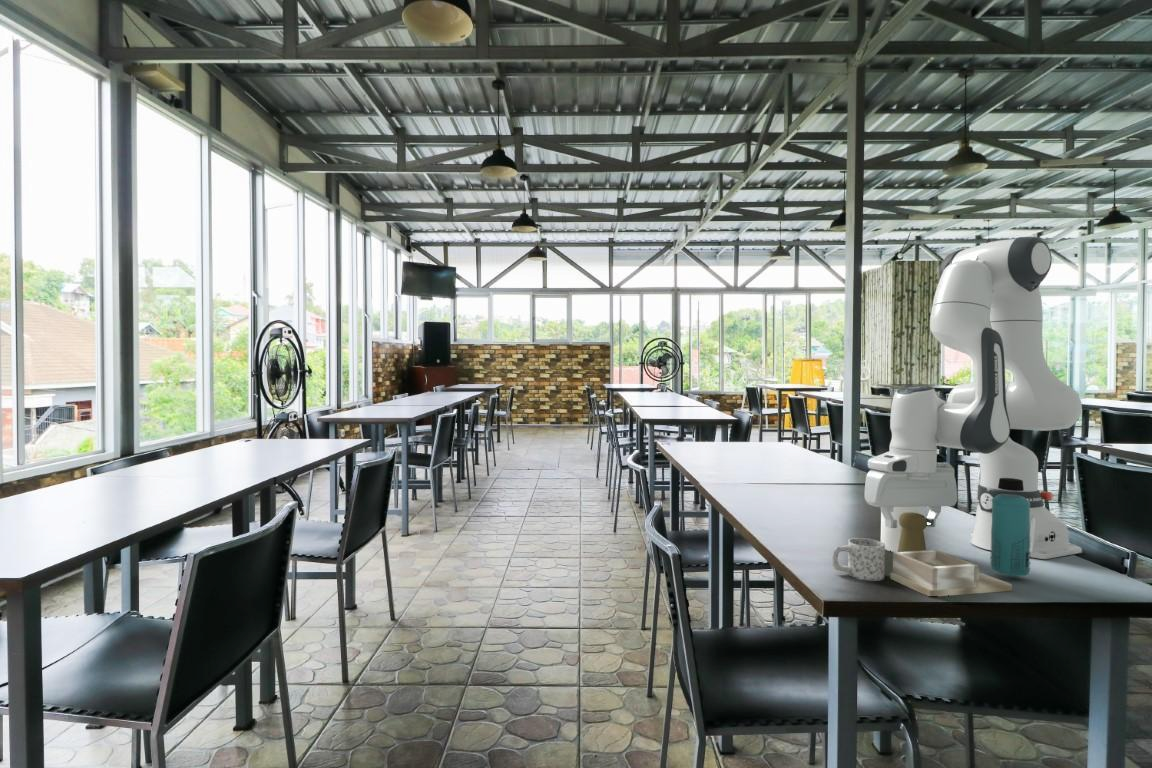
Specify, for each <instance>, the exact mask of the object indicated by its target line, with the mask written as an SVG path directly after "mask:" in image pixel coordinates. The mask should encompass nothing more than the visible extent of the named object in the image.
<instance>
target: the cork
mask: <svg viewBox="0 0 1152 768" xmlns="http://www.w3.org/2000/svg"><path fill="white" fill-rule="evenodd" d="M926 518H927V517H926V515H924V516H923V515H921V514H918V513H913V512H906V513H902V514H901V515H900V517H899V524H900V526H901V527H902V529H901V535H900V541H899V547H898V552H909V551H926V550H927V545H926V539H925V529H926V528H927V527H926V525H927V520H926Z"/></svg>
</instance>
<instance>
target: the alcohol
mask: <svg viewBox="0 0 1152 768" xmlns="http://www.w3.org/2000/svg"><path fill="white" fill-rule="evenodd" d="M925 507H926V506H925ZM925 507H893V512H891V514H892V516H893V519H895V520H897V528H888V527H886V526H885V517H884V516H883V514H882V512H881V511H880V542H882V543H884V544H885V551H888V552H890V551H891V553H893V552H898V547H899V541H900V535H901V529H902V527H901V526H900V524H899V517H900V515H901V514H902V513H906V512H913V513H918V514H921V515H923V516H926V515H925V513H926V512H925V511H926V510H925Z"/></svg>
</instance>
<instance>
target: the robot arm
mask: <svg viewBox="0 0 1152 768" xmlns="http://www.w3.org/2000/svg"><path fill="white" fill-rule="evenodd" d="M1052 259H1053V258H1052V253H1051V249H1050V246H1049V245H1048V243H1046V242H1045V241H1044V240H1043V239H1042V238H1041V237H1038V236H1037V237H1036V236H1035V237H1034V236H1020V237H1017V238H1011V239H1010V238H1009V239H999V240H995V241H990V242H989V241H988V242H987V243H983V244H980V245H976V246H975V245H974V246H971V247H969V248H966V249H964V248H962V249H958V250H956V251H952V252H951V253H948V254H947V256H946V257H944V258H943V260H942V262H941V263H940V266H939V271H938V273H939V274H938V275H939V280H938V284H937V286H936V290H935V293H934V296H933V300H932V306H931V312H930V319H929V328H930V332H931V334H932V336H933V337H934V338H935V340H936V341H938V342H939V343H940V344H942V345H943V346H945V347H947V348H950V349H951V350H954V351H958V352H961V353H963V354H966V355H967V356H969V357H970V358H971V361H972V362H973V365H974V381H971V382H967V383H960V384H957V385H955V386H954V387H953V388H952V389H951V391H950V392H949V394H948V396H947V398H946V400H943V399H941V398H940V397H938V396H937V394H936V390H935V388H934V387H932V386H929V385H912V386H904V387H901V388H899V389H897V390H896V391H895V392H894V394H893V397H892V403H891V408H890V419H889V423H890V424H889V425H890V426H889V428H890V432H891V440H890V441H889V442H890V443H889V450H888V451H886V452H884V453H881V454H879V455H876V456H873V457H870V458H869V459H868V460H867V467H868V469H870V470H869V471H868V472H867V473H866V476H865V484H864V500H865V501H866V504H867V505H870V506H872V507H875V508H880V513H881V512H882V514H883V516H884V517H885V526H886V527H888V528H897V520H895V519H893V516H892V514H891V512H893V507H927V509H928V510H929V511H928V514H927V516H926V517H925V518H926V520H927V525H926V528H935V527H936V525H937V524H936V521H937V519H938V517H939V515H940V514H941V512H942V507H954V506H955V505H956V504H957V502H958V488H957V481H956V477H955V468H954V467H953V466H952V465H951V464H950V463H949V462H946V461H944V462H937V457H938V447H944V448H950V449H958V450H966V451H969V452H970V451H971V452H974V453H978V455H979V473H980V474H979V475H980V477H979V480H980V481H979V484H978V485H977V490H976V491H977V492H976V493H977V496H976V497H977V500H978V505H977V507H976V512H975V518H974V519H975V520H974V525H973V532H971V533H970V538H971V539H970V543H971V544H972V545H974V546H975V547H978V548H981V549H984V550H987V551H988V550H989V551H991V549H990V545H991V542H990V541H991V539H990V538H991V528H992V499H993V498H994V497H995V496H997V495H998V494H1012V495H1019V496H1023V497H1024V498H1026V499H1027V500H1028V501H1029V502H1030V526H1031V528H1030V537H1031V538H1030V541H1031V543H1030V545H1031V547H1030V548H1031V549H1030V551H1031V552H1030V554H1029V558H1035V559H1038V560H1039V559H1040V560H1049V559H1054V558H1059V557H1064V556H1069V555H1076V554H1082V553H1083V549H1082V547H1080V546H1079V545H1076V544H1073V543H1070V539H1069V530H1068V526H1067V525H1066V524H1065V522H1064V521H1062V520H1061V519H1060V518H1059V517H1057V516H1056V515H1055V514H1053V512H1052V511H1050V510H1048V509H1047V508H1046V507H1045V502H1044V501H1043V500H1046V501H1048V502H1051V501H1053V499H1054V493H1053V492H1051V491H1045V490H1042V491H1040V490H1039V489H1038V487H1039V486H1038V485H1039V484H1038V482H1039V460H1038V457H1037V455H1036V454H1035V452H1034V451H1032V450H1030V449H1029V448H1028V447H1026V446H1024V445H1022V444H1019V443H1018V442H1015V441H1014V440H1012V438H1011V437H1010V433H1011V430H1023V431H1024V430H1026V431H1041V432H1042V431H1043V432H1044V431H1045V432H1046V431H1055V430H1056V431H1057V430H1066V429H1070V428H1071V427H1072V426H1074V425H1075V424H1076V423H1077V421H1079V419H1080V417H1081V414H1082V412H1083V411H1082V410H1083V405H1082V401H1081V397H1080V396H1079V394H1078V392H1076V390H1074V388H1072V387H1070V385H1068V384H1066V383H1064V382H1063V381H1062V380H1060V378H1058V377H1057V376H1056V375H1055V374H1054V373H1053V371H1052V370H1051V369H1050V367H1049V365H1048V363H1047V361H1046V357H1045V354H1044V345H1043V343H1044V342H1043V323H1044V322H1043V317H1044V316H1043V315H1044V314H1043V303H1042V302H1043V301H1042V296H1041V291H1040V287H1039V286H1040V285H1041V284H1042V282H1043V281H1044V279H1046V277H1047V276H1048V274H1049V272H1050V269H1051V268H1052V261H1053V260H1052ZM1006 370H1009V371H1010V372H1011V374H1012V377H1013V381H1006ZM1000 478H1014V479H1020V480H1022V481H1023V487H1024V490H1023V491H1010V490H1003V489H999V488H998V485H999V479H1000Z"/></svg>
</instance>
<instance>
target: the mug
mask: <svg viewBox="0 0 1152 768" xmlns="http://www.w3.org/2000/svg"><path fill="white" fill-rule="evenodd" d="M847 543H848V544H844V545H840V546H836V547H834V548H833V551H832V566H833V569H834V570H836V571H839V572H845V573H847V575H849V576H850V577H852V578H854V579H858V580H861V581H867V582H879V581H883V580H884V579H885V560H886V559H885V558H886V557H885V554H886V553H885V552H886V550H885V544H884V543H882V542H881V540H880V541H879V540H876V539H871V538H865V537H864V538H863V537H853V538H849V539H848V540H847ZM841 552H846V553H847V565H840V563H839V561H838V558H839V553H841Z"/></svg>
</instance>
